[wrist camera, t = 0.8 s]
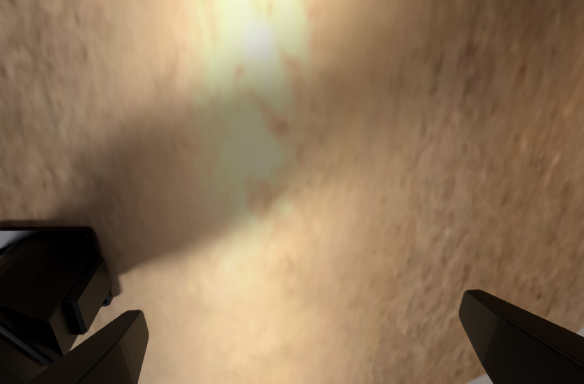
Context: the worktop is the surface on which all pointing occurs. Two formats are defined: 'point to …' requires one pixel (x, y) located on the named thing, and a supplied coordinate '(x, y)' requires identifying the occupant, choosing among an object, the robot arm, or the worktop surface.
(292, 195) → the worktop surface
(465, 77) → the worktop surface
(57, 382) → the robot arm
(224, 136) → the worktop surface
